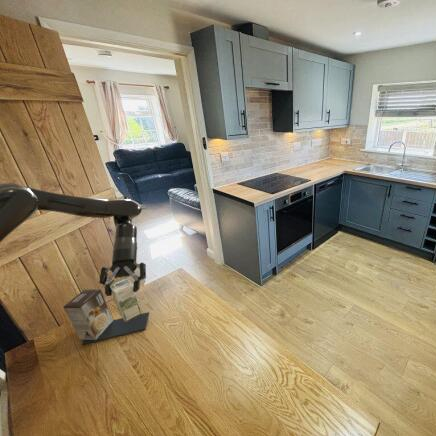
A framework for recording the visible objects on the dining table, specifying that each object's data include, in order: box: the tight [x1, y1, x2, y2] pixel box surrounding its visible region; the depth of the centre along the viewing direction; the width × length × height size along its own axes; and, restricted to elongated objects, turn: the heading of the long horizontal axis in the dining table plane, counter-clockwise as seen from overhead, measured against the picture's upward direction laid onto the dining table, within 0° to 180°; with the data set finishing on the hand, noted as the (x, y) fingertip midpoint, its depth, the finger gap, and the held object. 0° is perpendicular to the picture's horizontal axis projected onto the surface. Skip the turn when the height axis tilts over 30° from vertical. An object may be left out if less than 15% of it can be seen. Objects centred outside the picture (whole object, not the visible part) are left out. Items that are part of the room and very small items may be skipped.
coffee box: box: [63, 288, 114, 340], centre depth 88 cm, size 9×6×16 cm
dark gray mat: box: [81, 311, 150, 346], centre depth 92 cm, size 20×9×1 cm, turn 111°
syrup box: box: [110, 278, 142, 322], centre depth 88 cm, size 6×6×14 cm
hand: (122, 293), depth 86 cm, fingers closed on syrup box, 8 cm apart
